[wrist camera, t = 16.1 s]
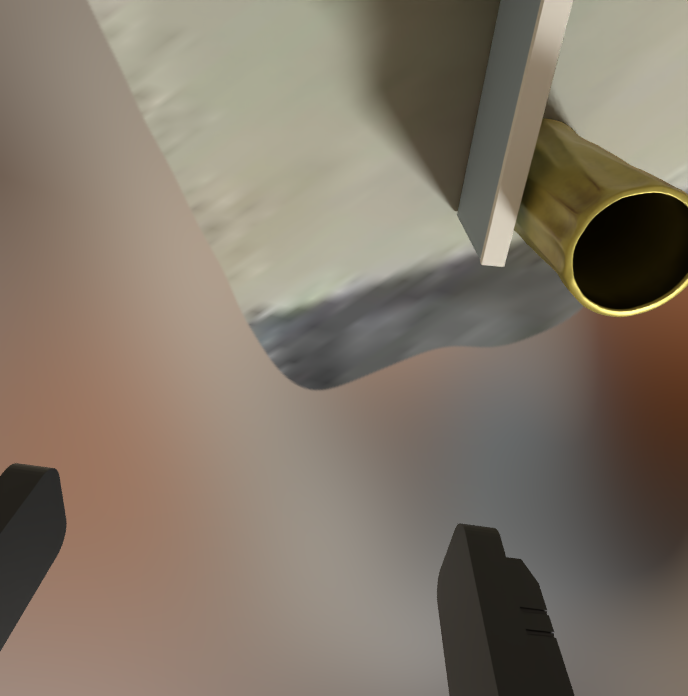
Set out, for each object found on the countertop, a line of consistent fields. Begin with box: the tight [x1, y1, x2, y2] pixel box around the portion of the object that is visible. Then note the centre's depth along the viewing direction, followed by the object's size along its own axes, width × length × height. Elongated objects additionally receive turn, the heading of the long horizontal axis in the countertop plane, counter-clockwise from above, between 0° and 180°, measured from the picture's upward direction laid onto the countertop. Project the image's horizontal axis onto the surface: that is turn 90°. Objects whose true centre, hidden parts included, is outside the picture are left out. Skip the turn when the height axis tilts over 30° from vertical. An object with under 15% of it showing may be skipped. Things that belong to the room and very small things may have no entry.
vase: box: [514, 119, 688, 317], centre depth 26 cm, size 6×6×14 cm
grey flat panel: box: [457, 0, 573, 267], centre depth 27 cm, size 14×1×9 cm, turn 175°
